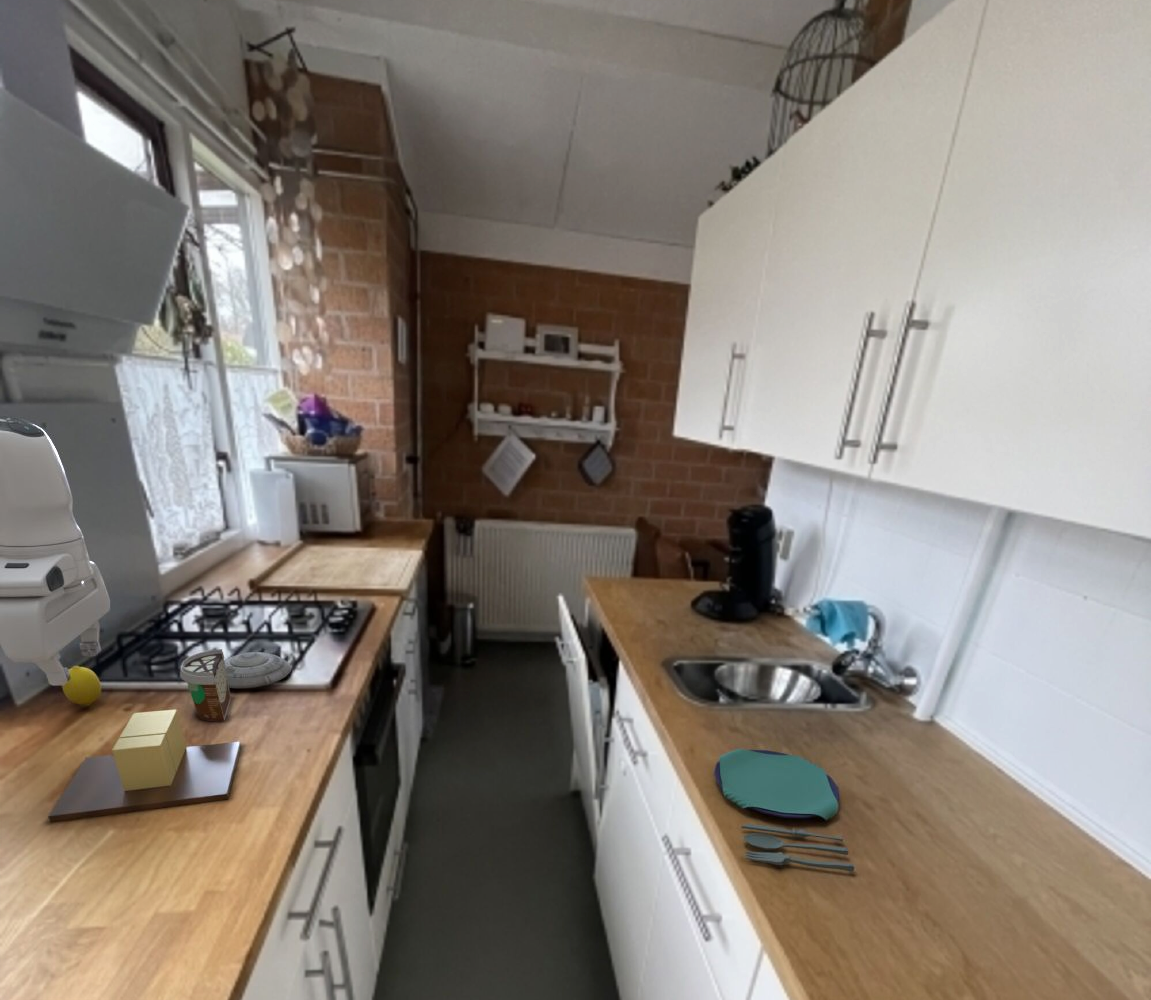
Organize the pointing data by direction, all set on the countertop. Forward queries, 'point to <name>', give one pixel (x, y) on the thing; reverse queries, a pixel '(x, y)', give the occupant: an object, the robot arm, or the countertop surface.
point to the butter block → (159, 730)
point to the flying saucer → (255, 669)
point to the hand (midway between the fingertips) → (77, 668)
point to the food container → (208, 684)
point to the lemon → (82, 686)
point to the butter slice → (144, 762)
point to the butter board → (103, 793)
